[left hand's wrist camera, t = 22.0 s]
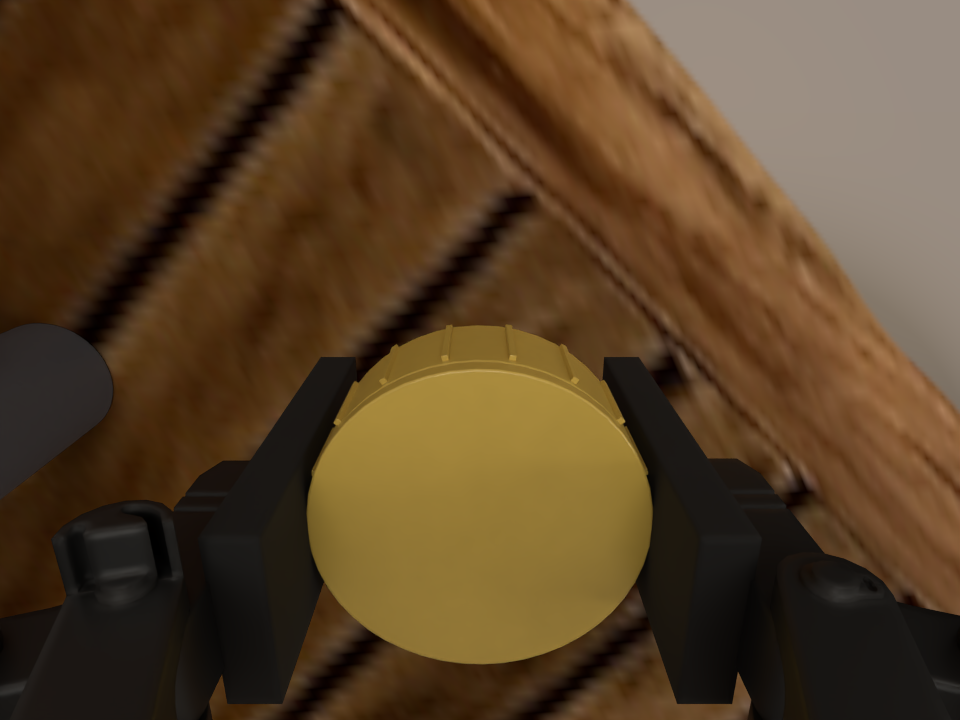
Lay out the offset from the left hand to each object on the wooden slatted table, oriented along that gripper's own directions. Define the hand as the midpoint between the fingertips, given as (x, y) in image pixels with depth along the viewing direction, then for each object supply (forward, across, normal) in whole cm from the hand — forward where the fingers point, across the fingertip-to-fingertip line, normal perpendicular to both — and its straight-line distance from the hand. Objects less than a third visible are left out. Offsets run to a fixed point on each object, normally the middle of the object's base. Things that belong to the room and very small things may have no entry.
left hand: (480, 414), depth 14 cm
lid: (-4, 0, 0) cm, 4 cm away
